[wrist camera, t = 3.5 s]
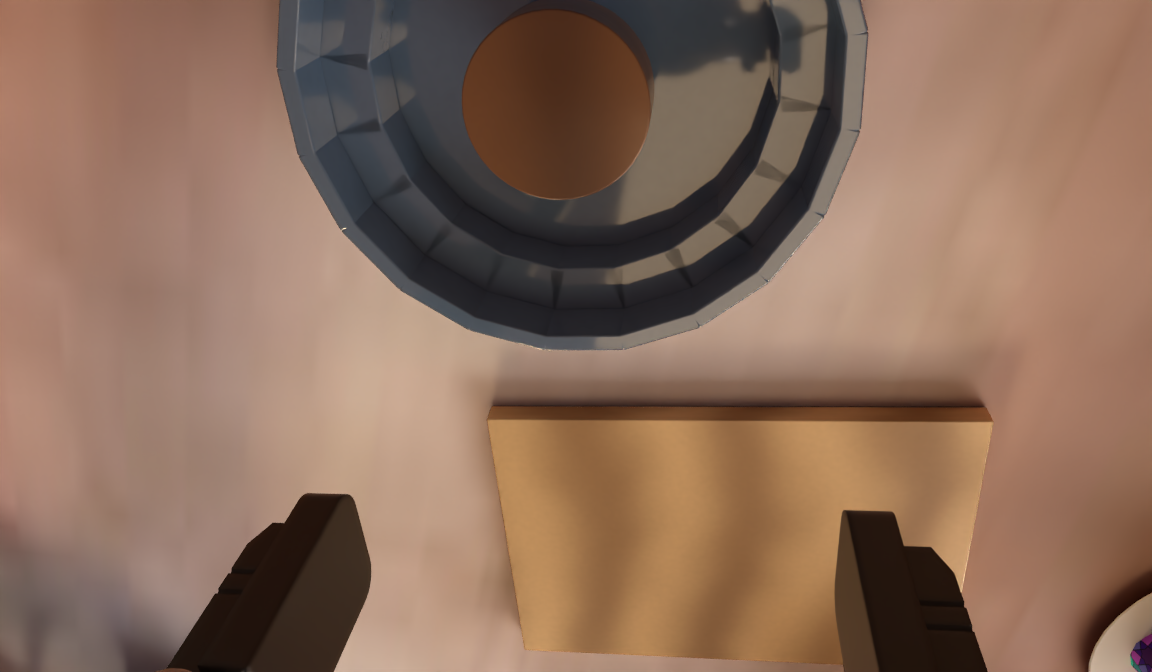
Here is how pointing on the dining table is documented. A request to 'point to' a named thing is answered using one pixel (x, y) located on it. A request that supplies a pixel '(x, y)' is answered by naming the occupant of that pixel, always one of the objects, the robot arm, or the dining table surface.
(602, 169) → the mushroom
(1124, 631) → the pudding
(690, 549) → the board
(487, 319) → the bowl
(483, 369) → the dining table surface
